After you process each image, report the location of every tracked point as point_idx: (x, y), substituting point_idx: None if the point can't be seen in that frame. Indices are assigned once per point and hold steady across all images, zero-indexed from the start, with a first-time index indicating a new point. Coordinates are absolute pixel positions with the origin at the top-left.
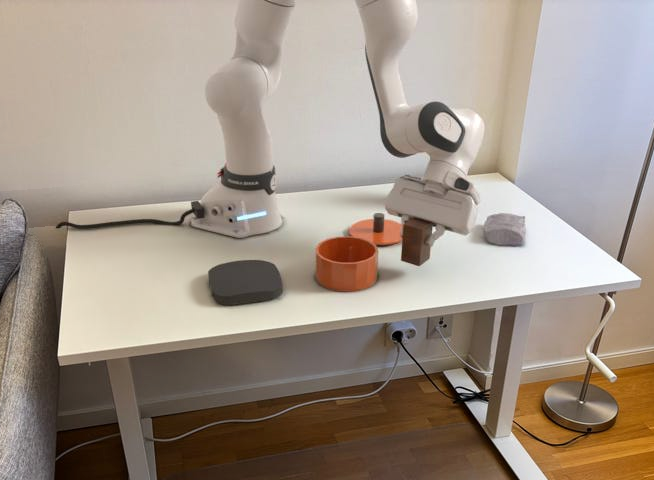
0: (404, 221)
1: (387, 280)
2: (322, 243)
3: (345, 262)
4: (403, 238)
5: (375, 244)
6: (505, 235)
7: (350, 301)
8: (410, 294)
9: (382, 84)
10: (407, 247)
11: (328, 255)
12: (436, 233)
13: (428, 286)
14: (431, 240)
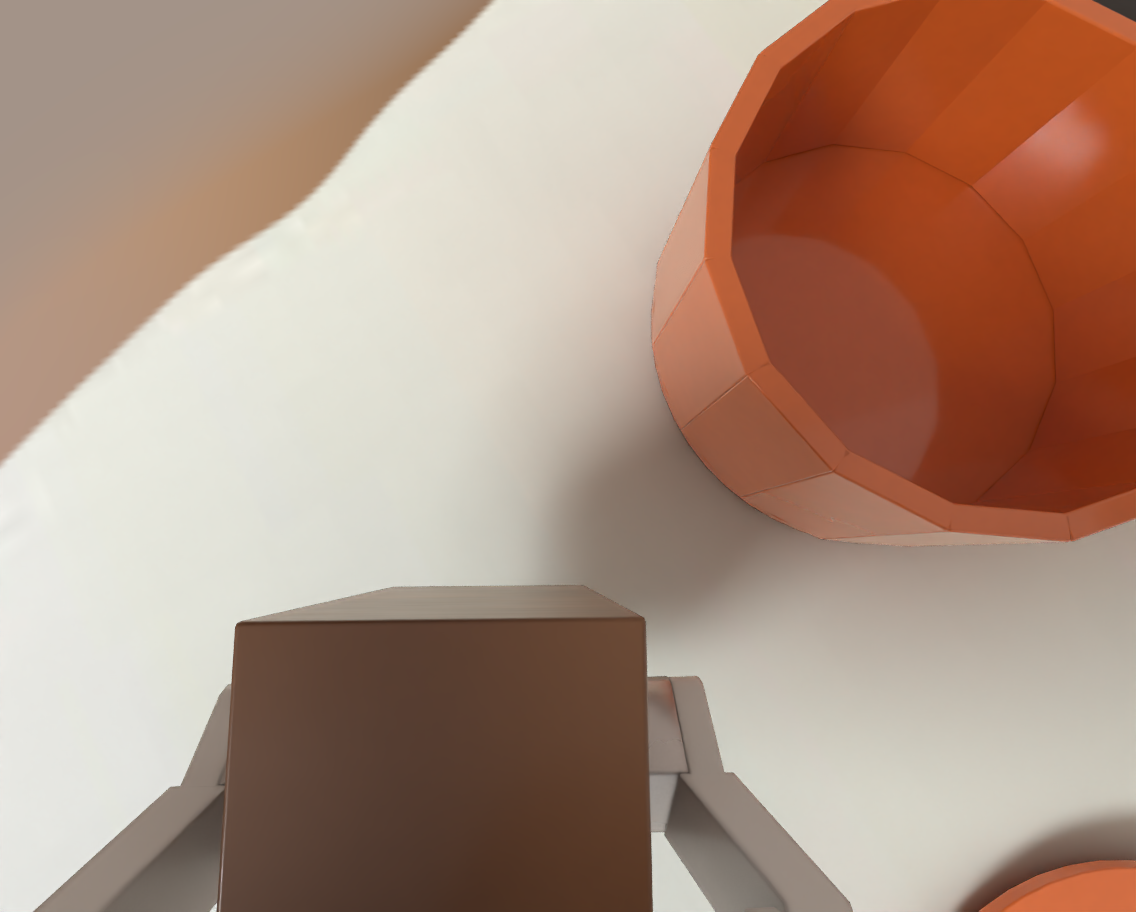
0: (764, 883)
1: (602, 451)
2: None
3: (987, 479)
4: (595, 599)
5: (1006, 894)
6: None
7: (643, 86)
8: (364, 369)
9: None
10: (526, 594)
11: (1118, 360)
12: (112, 851)
13: (306, 545)
14: (207, 729)
